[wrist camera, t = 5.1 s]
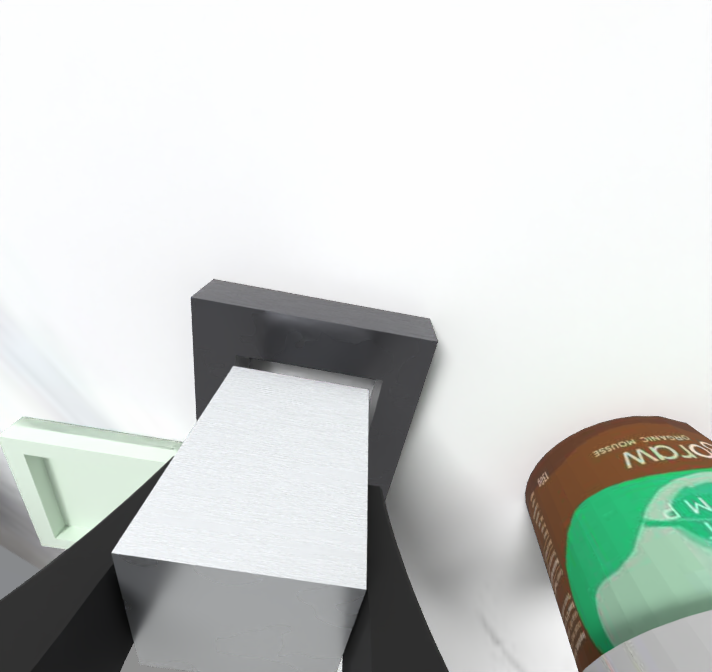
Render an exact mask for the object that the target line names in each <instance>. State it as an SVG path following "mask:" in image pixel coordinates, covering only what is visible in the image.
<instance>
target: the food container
mask: <svg viewBox="0 0 712 672" xmlns="http://www.w3.org/2000/svg"><path fill="white" fill-rule="evenodd" d="M525 496H526V505H527V508H528V511H529V514H530V517H531V521H532V524H533V527H534V530H535V533H536V537H537V540H538V543H539V546H540V549H541V553H542V556H543V559H544V562H545V565H546V569H547V572H548V575H549V578H550V581H551V585H552V588H553V591H554V594H555V597H556V601H557V604H558V607H559V610H560V613H561V617H562V620H563V623H564V626H565V629H566V633H567V636H568V639H569V642H570V645H571V649H572V652H573V655H574V658H575V661H576V665H577V668H578V671H579V672H712V441H711V440H709V439H708V438H707V437H705V436H704V435H702V434H701V433H700V432H698V431H697V430H695V429H694V428H692V427H691V426H690V425H688V424H687V423H683V422H680V421H676V420H672V419H668V418H664V417H660V416H632V417H625V418H618V419H613V420H609V421H606V422H602V423H598V424H596V425H593V426H590V427H588V428H585V429H583V430H581V431H579V432H577V433H575V434H573V435H571V436H569V437H568V438H566V439H565V440H563V441H562V442H560V443H559V444H557V445H556V446H555V447H554V448H552V449H551V450H550V451H549V452H548V453H546V455H545V456H544V457H543V458H542V459H541V460H540V461H539V462H538V463H537V465H536V467H535V468H534V470H533V471H532V473H531V475H530V477H529V480H528V482H527V486H526V492H525Z"/></svg>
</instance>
